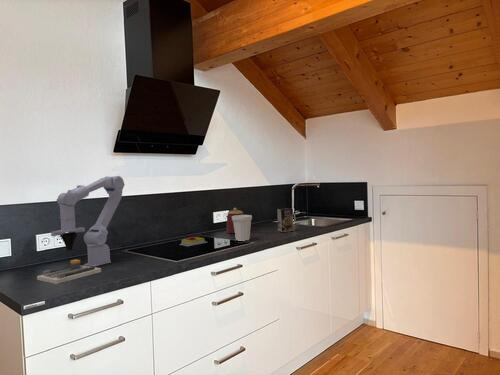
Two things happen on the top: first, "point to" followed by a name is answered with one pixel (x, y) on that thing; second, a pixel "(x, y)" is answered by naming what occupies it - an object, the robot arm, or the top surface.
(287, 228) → the coffee box
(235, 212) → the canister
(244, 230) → the cup
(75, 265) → the breaker lever
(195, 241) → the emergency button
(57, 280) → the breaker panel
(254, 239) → the top surface
